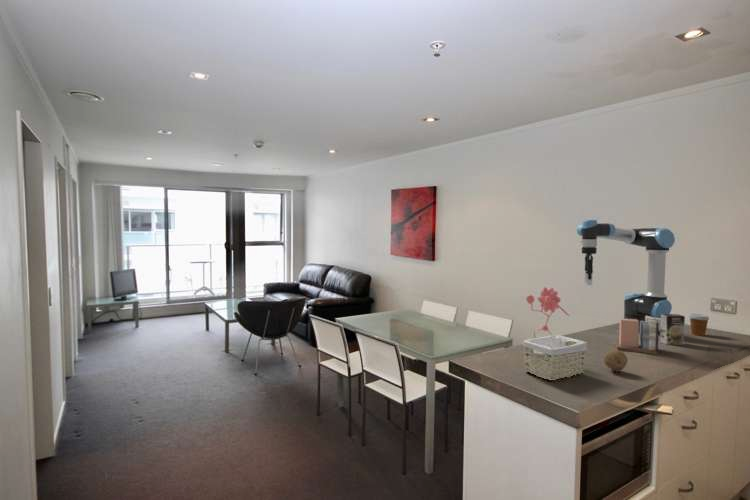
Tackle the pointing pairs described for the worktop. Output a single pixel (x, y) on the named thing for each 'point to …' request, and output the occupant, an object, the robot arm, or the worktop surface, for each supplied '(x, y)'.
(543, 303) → the figurine
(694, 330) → the disposable coffee cup
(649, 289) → the robot arm
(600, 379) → the worktop surface
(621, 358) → the natural sponge
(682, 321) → the coffee box
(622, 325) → the terracotta book
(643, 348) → the book rack
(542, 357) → the storage basket
